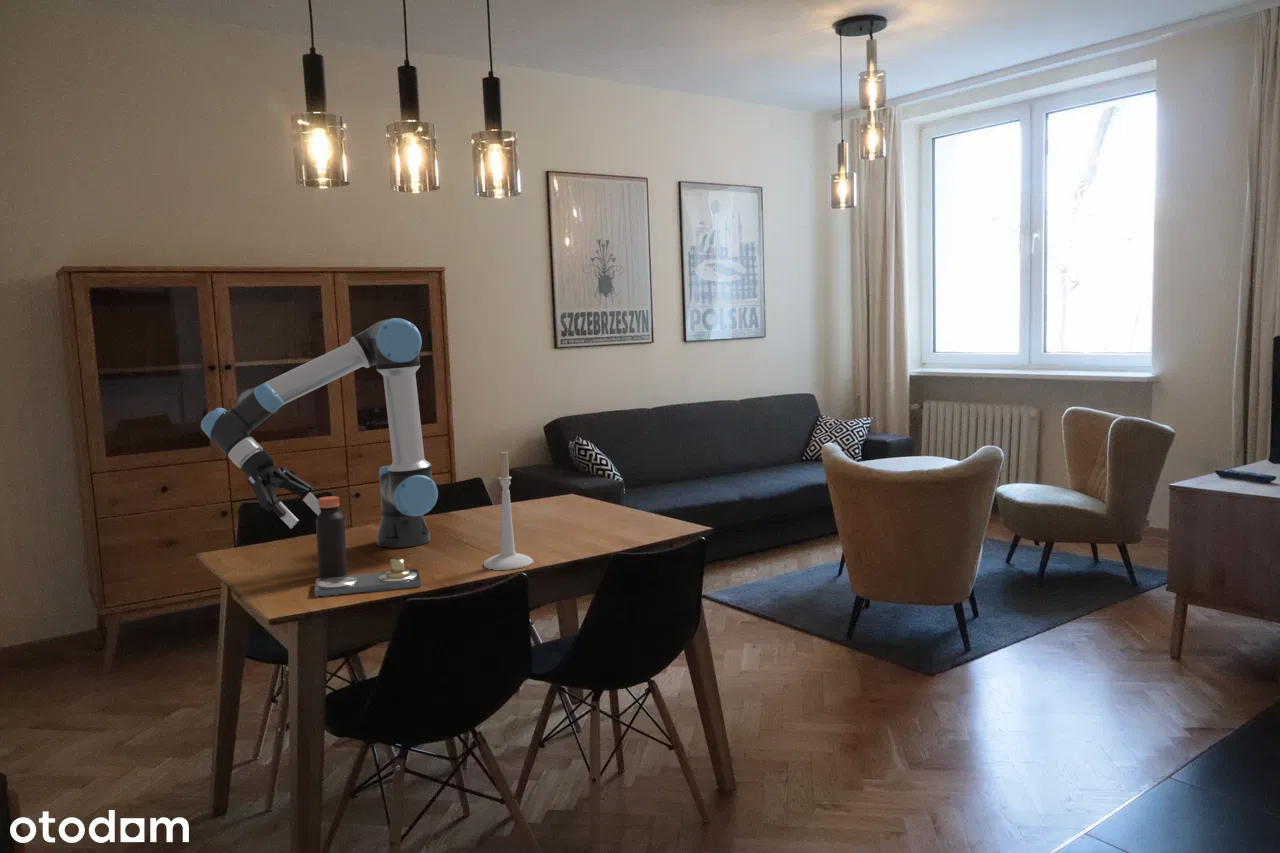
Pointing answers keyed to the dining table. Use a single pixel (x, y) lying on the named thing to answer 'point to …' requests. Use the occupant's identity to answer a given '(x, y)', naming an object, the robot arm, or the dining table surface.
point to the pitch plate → (370, 581)
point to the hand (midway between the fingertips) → (309, 519)
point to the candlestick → (506, 528)
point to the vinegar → (331, 539)
